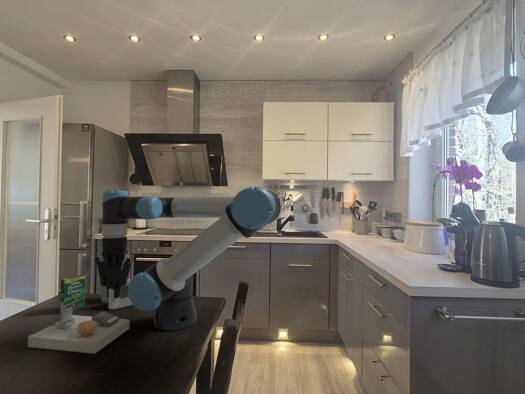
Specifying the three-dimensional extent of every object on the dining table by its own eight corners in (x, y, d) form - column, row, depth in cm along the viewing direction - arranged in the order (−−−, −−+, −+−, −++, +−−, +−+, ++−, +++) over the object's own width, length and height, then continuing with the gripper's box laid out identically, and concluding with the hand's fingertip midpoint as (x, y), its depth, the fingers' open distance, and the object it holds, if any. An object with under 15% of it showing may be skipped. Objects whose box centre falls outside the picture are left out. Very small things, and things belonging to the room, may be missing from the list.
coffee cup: (110, 305, 115) (111, 276, 115) (93, 303, 116) (94, 275, 117) (124, 298, 123) (125, 271, 123) (108, 296, 125) (109, 270, 125)
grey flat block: (118, 320, 93) (119, 317, 93) (108, 326, 88) (109, 323, 88) (102, 314, 93) (103, 311, 93) (91, 320, 88) (92, 317, 88)
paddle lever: (75, 322, 90) (75, 307, 90) (64, 328, 86) (65, 311, 86) (67, 322, 90) (67, 306, 90) (56, 327, 86) (57, 311, 86)
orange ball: (99, 337, 85) (100, 320, 85) (87, 345, 80) (88, 327, 80) (85, 335, 85) (86, 319, 85) (73, 343, 80) (73, 326, 81)
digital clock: (110, 311, 108) (111, 284, 108) (108, 304, 115) (109, 279, 116) (153, 304, 117) (154, 279, 117) (149, 297, 124) (149, 274, 125)
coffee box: (62, 314, 104) (63, 279, 105) (59, 312, 106) (60, 278, 106) (85, 307, 111) (86, 275, 112) (81, 306, 113) (82, 274, 113)
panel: (129, 328, 94) (129, 318, 94) (94, 353, 78) (95, 341, 78) (72, 323, 96) (72, 313, 97) (27, 346, 81) (28, 334, 81)
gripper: (139, 235, 94) (138, 304, 93) (104, 234, 96) (103, 302, 95) (125, 238, 86) (124, 313, 86) (88, 237, 88) (86, 310, 87)
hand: (113, 307), depth 90 cm, fingers closed
